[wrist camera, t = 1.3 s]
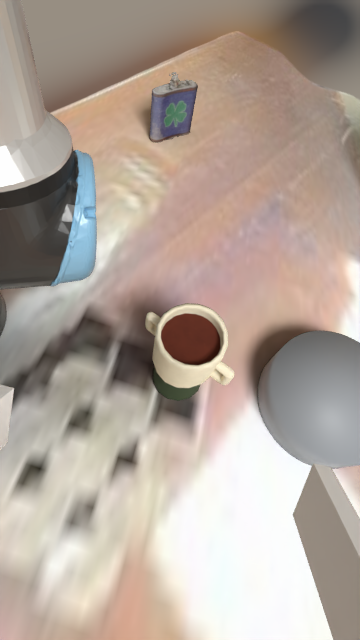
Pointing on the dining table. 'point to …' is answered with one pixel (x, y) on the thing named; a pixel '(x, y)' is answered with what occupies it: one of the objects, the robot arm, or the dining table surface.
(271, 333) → the dining table surface
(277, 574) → the dining table surface
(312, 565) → the robot arm
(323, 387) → the plinth
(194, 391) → the character mug
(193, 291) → the dining table surface
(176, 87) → the flask
